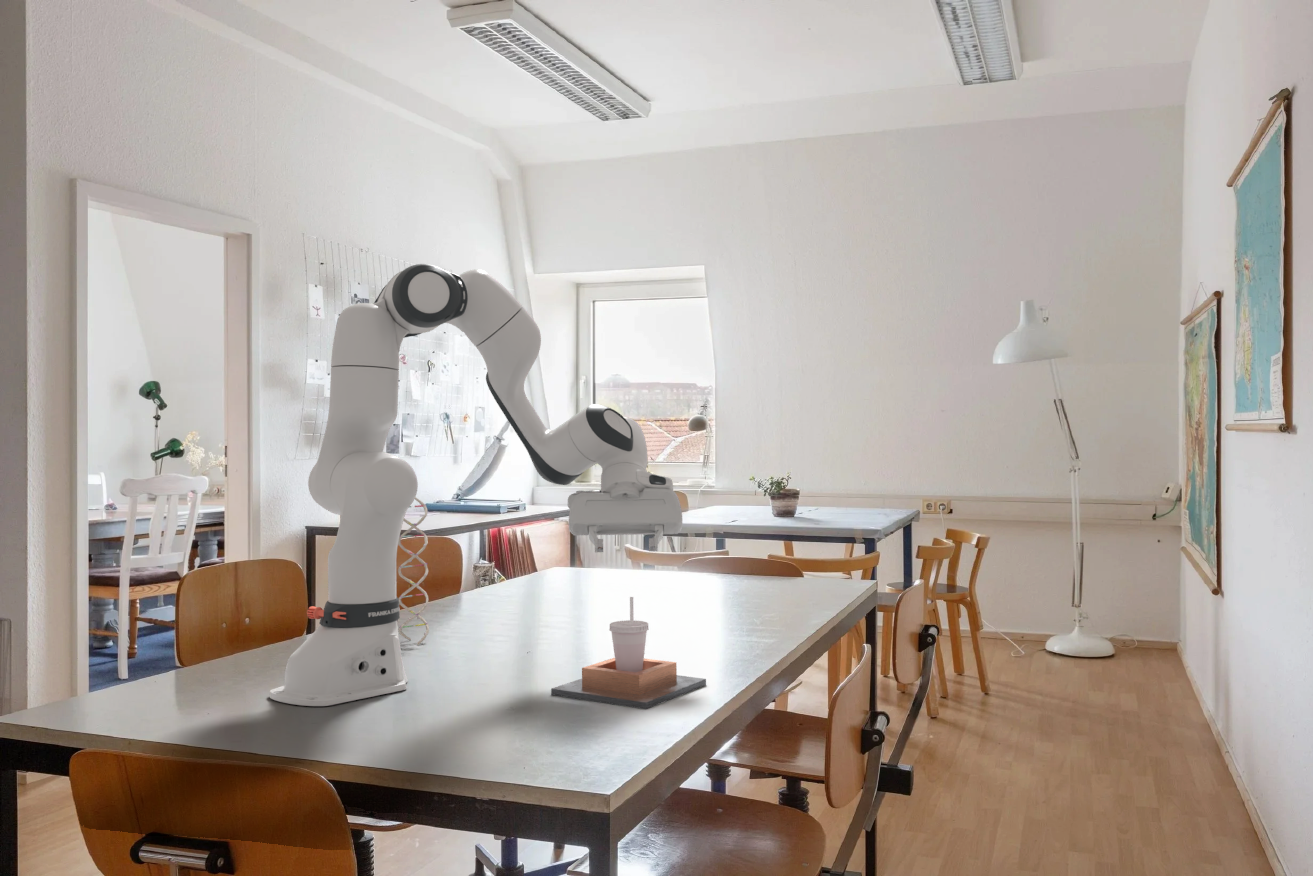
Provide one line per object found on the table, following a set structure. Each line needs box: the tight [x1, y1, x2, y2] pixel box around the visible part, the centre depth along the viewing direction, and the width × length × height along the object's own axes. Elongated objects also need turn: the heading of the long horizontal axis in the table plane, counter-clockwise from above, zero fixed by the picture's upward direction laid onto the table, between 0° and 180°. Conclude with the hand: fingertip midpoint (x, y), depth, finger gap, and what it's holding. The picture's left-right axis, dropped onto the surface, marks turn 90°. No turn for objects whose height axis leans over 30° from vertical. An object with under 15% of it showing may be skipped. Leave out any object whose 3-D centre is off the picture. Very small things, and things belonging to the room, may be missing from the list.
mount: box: [550, 657, 707, 710], centre depth 170 cm, size 18×18×4 cm
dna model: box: [397, 496, 430, 646], centre depth 213 cm, size 7×6×30 cm
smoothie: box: [608, 596, 649, 672], centre depth 170 cm, size 6×6×14 cm
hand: (626, 549), depth 182 cm, fingers open, 8 cm apart
